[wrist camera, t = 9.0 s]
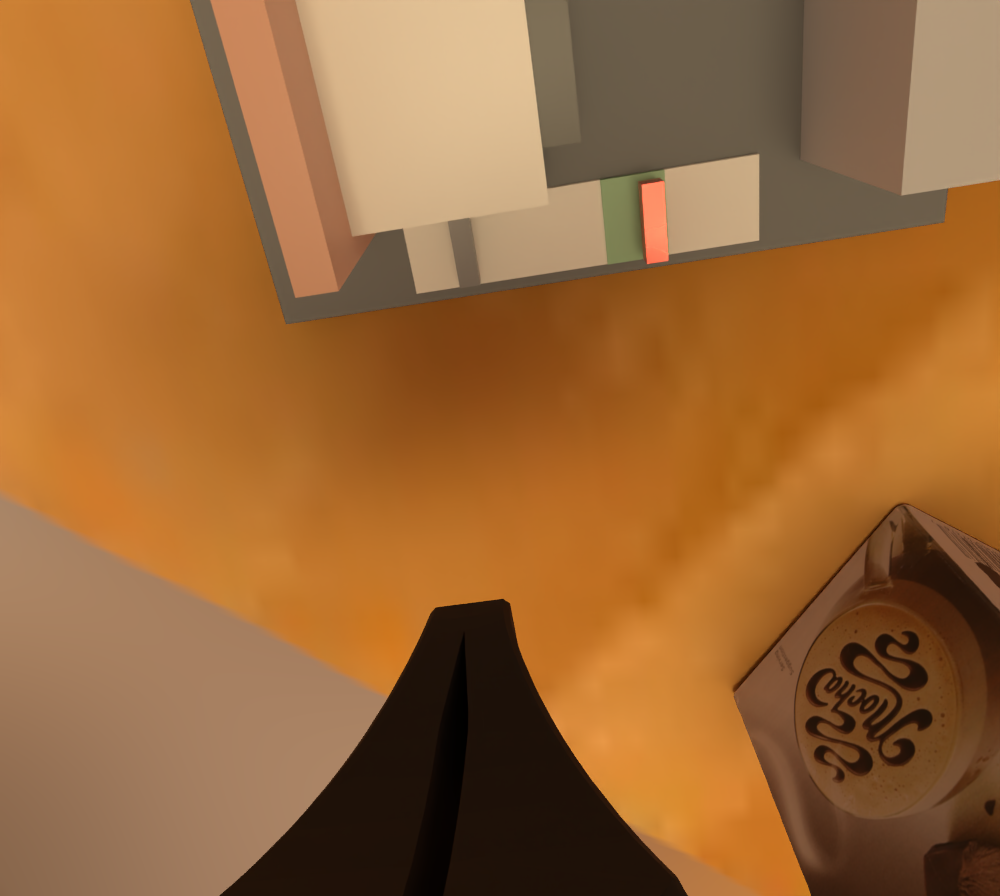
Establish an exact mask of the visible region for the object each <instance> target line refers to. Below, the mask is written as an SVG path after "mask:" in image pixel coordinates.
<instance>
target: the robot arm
mask: <svg viewBox="0 0 1000 896" xmlns="http://www.w3.org/2000/svg"><path fill="white" fill-rule="evenodd" d="M220 896H688V895H687V894H686V892H685V890H684V889H683V887H682V885H681V883H680V881H679V880H678V878H677V877H676V875H675V874H674V873H673V872H672V871H671V870H670V869H668V868H667V867H666V865H665V864H663V862H662V861H660V860H659V858H658V857H657V856H656V855H655V854H654V853H653V852H652V851H651V850H650V849H649V848H648V847H647V846H646V845H645V844H644V843H643V842H642V841H641V839H640V838H639V837H638V836H637V835H636V834H635V833H634V832H633V830H632V829H631V828H630V827H629V826H628V825H627V824H626V822H625V821H624V820H623V819H622V818H621V817H620V816H619V814H618V813H617V812H616V810H615V809H614V808H613V807H612V805H611V804H610V803H609V802H608V800H607V799H606V798H605V796H604V795H603V794H602V793H601V791H600V790H599V789H598V788H597V786H596V785H595V784H594V782H593V781H592V780H591V779H590V777H589V776H588V774H587V773H586V772H585V770H584V769H583V767H582V766H581V764H580V763H579V761H578V760H577V759H576V757H575V756H574V754H573V753H572V751H571V749H570V748H569V746H568V745H567V743H566V742H565V740H564V739H563V737H562V735H561V734H560V732H559V730H558V729H557V727H556V725H555V723H554V722H553V720H552V718H551V716H550V715H549V713H548V711H547V709H546V707H545V705H544V703H543V701H542V700H541V698H540V696H539V694H538V692H537V690H536V688H535V685H534V683H533V681H532V679H531V676H530V674H529V672H528V670H527V667H526V665H525V663H524V660H523V658H522V655H521V653H520V650H519V647H518V643H517V638H516V633H515V627H514V622H513V617H512V612H511V606H510V603H508V602H507V601H505V600H504V599H499V600H491V601H483V602H476V603H468V604H460V605H452V606H444V607H437V608H435V609H434V610H433V611H432V613H431V614H430V616H429V619H428V621H427V623H426V626H425V628H424V630H423V632H422V634H421V637H420V639H419V641H418V643H417V645H416V647H415V649H414V651H413V653H412V655H411V657H410V659H409V661H408V663H407V665H406V666H405V668H404V670H403V672H402V674H401V675H400V677H399V679H398V681H397V683H396V684H395V686H394V688H393V690H392V692H391V693H390V695H389V697H388V699H387V700H386V702H385V704H384V705H383V707H382V708H381V710H380V711H379V713H378V715H377V716H376V718H375V720H374V721H373V722H372V724H371V726H370V727H369V729H368V731H367V732H366V733H365V735H364V736H363V738H362V739H361V741H360V742H359V744H358V745H357V747H356V748H355V750H354V751H353V752H352V754H351V755H350V756H349V758H348V759H347V761H346V762H345V763H344V765H343V766H342V767H341V768H340V770H339V771H338V773H337V774H336V775H335V776H334V778H333V779H332V780H331V782H330V783H329V784H328V785H327V786H326V788H325V789H324V790H323V791H322V792H321V794H320V795H319V796H318V797H317V798H316V799H315V801H314V802H313V803H312V804H311V805H310V807H309V808H308V809H307V810H306V811H305V812H304V814H303V815H302V816H301V817H300V818H299V819H298V820H297V821H296V822H295V824H294V825H293V826H292V827H291V828H290V829H289V830H288V831H287V832H286V833H285V834H284V835H283V836H282V837H281V838H280V839H279V840H278V841H277V842H276V843H275V844H274V845H273V847H271V848H270V849H269V850H268V851H267V852H266V853H265V854H264V855H263V856H262V857H261V859H259V860H258V861H257V862H256V864H254V865H253V866H252V867H251V868H250V869H249V870H248V871H247V872H246V873H245V874H244V875H243V876H241V877H240V878H239V879H238V880H237V881H236V882H235V883H234V884H233V885H232V886H230V887H229V888H228V889H227V890H225V891H224V892H223V893H222V894H221V895H220Z"/></svg>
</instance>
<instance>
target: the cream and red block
mask: <svg viewBox="0 0 1000 896" xmlns="http://www.w3.org/2000/svg"><path fill="white" fill-rule="evenodd" d="M210 1H211V4H212V8H213V11H214V15H215V18H216V22H217V25H218V29H219V32H220V36H221V39H222V43H223V46H224V50H225V53H226V57H227V60H228V64H229V67H230V71H231V74H232V78H233V81H234V85H235V88H236V92H237V95H238V99H239V102H240V106H241V109H242V113H243V116H244V120H245V123H246V127H247V130H248V134H249V137H250V141H251V144H252V148H253V151H254V155H255V158H256V162H257V165H258V169H259V172H260V176H261V179H262V183H263V186H264V190H265V193H266V197H267V200H268V204H269V207H270V211H271V214H272V218H273V221H274V225H275V228H276V232H277V235H278V239H279V242H280V246H281V249H282V253H283V256H284V260H285V263H286V267H287V270H288V274H289V277H290V281H291V284H292V288H293V291H294V295H295V298H298V297H305V296H311V295H317V294H324V293H330V292H336V291H339V290H340V289H341V287H342V285H343V284H344V282H345V281H346V279H347V278H348V276H349V275H350V273H351V271H352V270H353V268H354V267H355V265H356V264H357V262H358V261H359V259H360V258H361V256H362V254H363V253H364V251H365V250H366V248H367V247H368V245H369V244H370V242H371V240H372V239H373V237H374V236H375V234H376V233H378V232H384V231H390V230H396V229H403V228H409V227H415V226H421V225H427V224H433V223H440V222H446V221H448V226H449V231H450V237H451V242H452V248H453V253H454V259H455V264H456V270H457V275H458V280H459V286H460V288H465V287H471V286H478V285H481V278H480V273H479V267H478V261H477V255H476V249H475V243H474V237H473V231H472V225H471V219H470V218H471V217H477V216H483V215H489V214H495V213H501V212H508V211H514V210H520V209H526V208H532V207H539V206H545V205H549V199H548V191H547V183H546V175H545V166H544V158H543V150H542V148H548V147H554V146H560V145H566V144H572V143H578V142H581V132H580V122H579V112H578V102H577V92H576V82H575V72H574V62H573V52H572V42H571V32H570V22H569V12H568V2H567V0H210Z"/></svg>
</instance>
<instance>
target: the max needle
mask: <svg viewBox="0 0 1000 896" xmlns="http://www.w3.org/2000/svg"><path fill="white" fill-rule="evenodd" d="M638 189H639V203H640V218H641V232H642V246H643V259H644V260H645V262H646V263H647V264H650V263H656V262H663V261H668V244H667V226H666V208H665V189H664V181H663V180H662V179H661V178H656V179H650V180H643V181H638Z"/></svg>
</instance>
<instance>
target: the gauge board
mask: <svg viewBox="0 0 1000 896" xmlns="http://www.w3.org/2000/svg"><path fill="white" fill-rule="evenodd" d="M190 2H191V5H192V8H193V12H194V15H195V18H196V22H197V25H198V29H199V32H200V35H201V39H202V42H203V45H204V49H205V52H206V56H207V59H208V62H209V66H210V69H211V72H212V76H213V79H214V83H215V86H216V89H217V93H218V96H219V99H220V103H221V106H222V110H223V113H224V116H225V120H226V123H227V126H228V130H229V133H230V137H231V140H232V143H233V147H234V150H235V153H236V157H237V160H238V164H239V167H240V170H241V174H242V177H243V180H244V184H245V187H246V191H247V194H248V197H249V201H250V204H251V207H252V211H253V214H254V218H255V221H256V224H257V228H258V231H259V234H260V238H261V241H262V245H263V248H264V251H265V255H266V258H267V261H268V265H269V268H270V272H271V275H272V278H273V282H274V285H275V288H276V292H277V295H278V299H279V302H280V305H281V309H282V312H283V315H284V319H285V322H286V324H291V323H298V322H304V321H311V320H317V319H324V318H330V317H337V316H343V315H349V314H356V313H362V312H369V311H375V310H382V309H388V308H395V307H401V306H408V305H414V304H420V303H427V302H433V301H440V300H446V299H453V298H459V297H466V296H472V295H479V294H485V293H491V292H498V291H504V290H511V289H517V288H524V287H530V286H537V285H543V284H549V283H556V282H562V281H569V280H575V279H582V278H588V277H595V276H601V275H608V274H614V273H620V272H627V271H633V270H640V269H646V268H653V267H659V266H666V265H672V264H678V263H685V262H691V261H698V260H704V259H711V258H717V257H724V256H730V255H737V254H743V253H749V252H756V251H762V250H769V249H775V248H782V247H788V246H795V245H801V244H807V243H814V242H820V241H827V240H833V239H840V238H846V237H853V236H859V235H866V234H872V233H878V232H885V231H891V230H898V229H904V228H911V227H917V226H924V225H930V224H936V223H943V222H944V220H945V211H946V201H947V192H948V188H953V187H959V186H965V185H972V184H978V183H984V182H991V181H997V180H1000V0H567V2H568V12H569V22H570V32H571V42H572V52H573V62H574V72H575V82H576V92H577V102H578V112H579V122H580V132H581V142H578V143H572V144H566V145H560V146H554V147H548V148H542V150H543V158H544V166H545V175H546V183H547V191H548V199H549V205H545V206H539V207H532V208H526V209H520V210H514V211H508V212H501V213H495V214H489V215H483V216H477V217H471V218H470V219H471V225H472V231H473V237H474V243H475V249H476V255H477V261H478V267H479V273H480V278H481V285H478V286H471V287H465V288H460V286H459V280H458V275H457V270H456V264H455V259H454V253H453V248H452V242H451V237H450V231H449V226H448V221H446V222H440V223H433V224H427V225H421V226H415V227H409V228H403V229H396V230H390V231H384V232H378V233H376V234H375V236H374V237H373V239H372V240H371V242H370V244H369V245H368V247H367V248H366V250H365V251H364V253H363V254H362V256H361V258H360V259H359V261H358V262H357V264H356V265H355V267H354V268H353V270H352V271H351V273H350V275H349V276H348V278H347V279H346V281H345V282H344V284H343V285H342V287H341V289H340V290H339V291H336V292H330V293H324V294H317V295H311V296H305V297H298V298H295V295H294V291H293V288H292V284H291V281H290V277H289V274H288V270H287V267H286V263H285V260H284V256H283V253H282V249H281V246H280V242H279V239H278V235H277V232H276V228H275V225H274V221H273V218H272V214H271V211H270V207H269V204H268V200H267V197H266V193H265V190H264V186H263V183H262V179H261V176H260V172H259V169H258V165H257V162H256V158H255V155H254V151H253V148H252V144H251V141H250V137H249V134H248V130H247V127H246V123H245V120H244V116H243V113H242V109H241V106H240V102H239V99H238V95H237V92H236V88H235V85H234V81H233V78H232V74H231V71H230V67H229V64H228V60H227V57H226V53H225V50H224V46H223V43H222V39H221V36H220V32H219V29H218V25H217V22H216V18H215V15H214V11H213V8H212V4H211V1H210V0H190ZM656 178H661V179H662V180H663V181H664V189H665V208H666V226H667V244H668V261H663V262H656V263H650V264H647V263H646V262H645V260H644V259H643V246H642V232H641V218H640V203H639V189H638V181H643V180H650V179H656Z"/></svg>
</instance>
